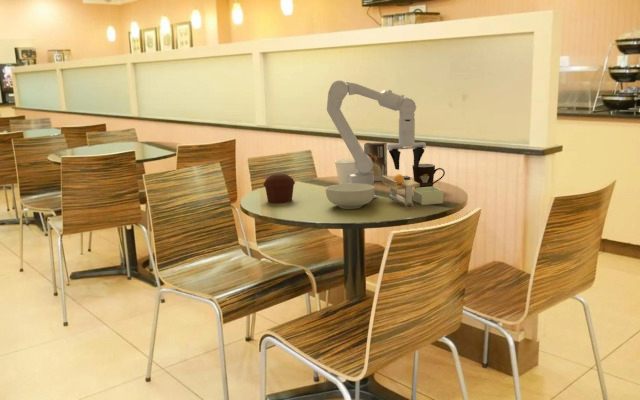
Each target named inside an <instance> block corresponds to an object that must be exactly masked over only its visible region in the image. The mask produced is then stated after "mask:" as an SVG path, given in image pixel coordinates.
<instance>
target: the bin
mask: <svg viewBox="0 0 640 400" xmlns="http://www.w3.org/2000/svg"><path fill="white" fill-rule="evenodd" d="M413 201H414V202H415V203H418V204H420V205H422V206H424V205H426V206H427V205H435V204H444V190H443V189H441V188H439V187H436V186H433V187H420V188H415V187H414V190H413Z"/></svg>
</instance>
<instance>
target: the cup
mask: <svg viewBox="0 0 640 400" xmlns="http://www.w3.org/2000/svg"><path fill="white" fill-rule="evenodd" d="M334 164H335V169H336V175H337V180H338V184H348V176H349V175H352V174H354V172H355V171H356V170H357V169H356V165H355V160H354V158H346V159H344V158H343V159H342V158H341V159H336V160H334Z"/></svg>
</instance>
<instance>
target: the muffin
mask: <svg viewBox="0 0 640 400" xmlns="http://www.w3.org/2000/svg"><path fill="white" fill-rule="evenodd" d="M294 185H296V182H295V180H294V179H293V177H292V176H290V175H289V174H286V173H273V174H271V175H269V176H267V178H266V179H265V180H264V182H263V186H264V189H265V194H266V198H267V202H268V203H271V204H284V203H290V202H292V200H293V194H294Z"/></svg>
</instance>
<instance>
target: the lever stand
mask: <svg viewBox="0 0 640 400" xmlns="http://www.w3.org/2000/svg"><path fill="white" fill-rule="evenodd" d="M389 178H390V177H389ZM390 179H394V177H392V178H390ZM389 188H390V187H389ZM397 192H398V190H394V189H392V188H390V194H389V195H388V197H389V198H390V199H392V200H393V201H395V202H396V203H398V204H400V205H401V206H404V207H414V202H413V187H412V186H411V185H407V186H405V189H404V197H403V196H401V195H399V194H398V193H397Z"/></svg>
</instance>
